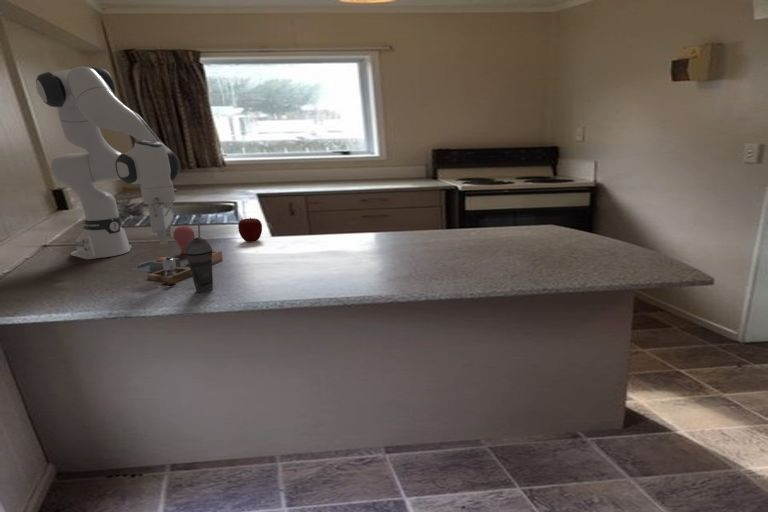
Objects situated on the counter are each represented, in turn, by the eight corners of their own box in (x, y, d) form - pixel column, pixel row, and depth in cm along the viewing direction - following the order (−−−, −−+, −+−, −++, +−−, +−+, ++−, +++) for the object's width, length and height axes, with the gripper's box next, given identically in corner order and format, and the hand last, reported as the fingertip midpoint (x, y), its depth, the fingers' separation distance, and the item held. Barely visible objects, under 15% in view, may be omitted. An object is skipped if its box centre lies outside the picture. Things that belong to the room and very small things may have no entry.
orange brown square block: (188, 267, 156) (186, 255, 155) (205, 261, 164) (204, 249, 162) (206, 270, 153) (204, 257, 152) (223, 263, 160) (221, 251, 159)
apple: (260, 243, 187) (257, 219, 184) (236, 244, 187) (233, 220, 184) (266, 238, 196) (263, 215, 193) (244, 239, 196) (241, 216, 193)
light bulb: (190, 259, 167) (185, 227, 164) (173, 259, 168) (167, 227, 165) (201, 254, 174) (196, 223, 170) (184, 254, 175) (179, 223, 172)
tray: (148, 283, 141) (147, 274, 141) (173, 274, 150) (171, 266, 149) (170, 286, 138) (169, 277, 137) (194, 277, 146) (193, 268, 145)
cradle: (131, 273, 152) (129, 261, 151) (156, 265, 161) (154, 253, 160) (162, 277, 147) (159, 265, 146) (186, 268, 156) (184, 256, 154)
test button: (157, 266, 151) (155, 259, 150) (166, 263, 154) (164, 256, 154) (165, 267, 150) (163, 260, 149) (173, 264, 153) (172, 257, 152)
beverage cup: (195, 286, 137) (185, 221, 131) (220, 285, 137) (211, 219, 132) (187, 295, 130) (176, 226, 124) (214, 293, 130) (203, 224, 125)
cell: (162, 278, 143) (159, 258, 141) (172, 275, 146) (169, 255, 144) (170, 279, 141) (167, 259, 140) (180, 276, 145) (177, 256, 143)
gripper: (165, 200, 128) (173, 247, 132) (174, 190, 147) (180, 232, 151) (140, 202, 127) (149, 250, 131) (152, 192, 145) (159, 234, 149)
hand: (166, 240), depth 141 cm, fingers open, 8 cm apart
